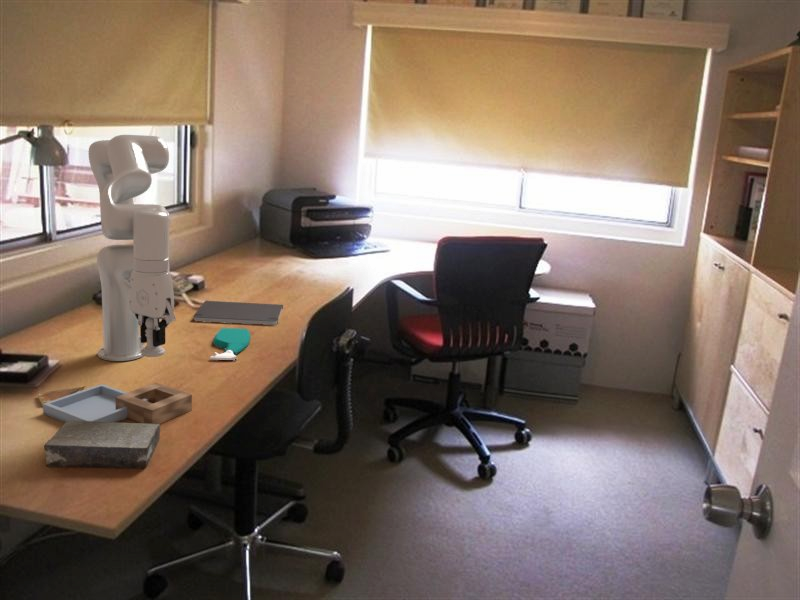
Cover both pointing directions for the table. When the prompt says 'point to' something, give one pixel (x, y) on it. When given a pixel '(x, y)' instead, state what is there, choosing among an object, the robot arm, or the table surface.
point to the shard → (57, 394)
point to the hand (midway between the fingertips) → (153, 342)
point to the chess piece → (151, 341)
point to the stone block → (102, 445)
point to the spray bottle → (230, 343)
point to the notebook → (238, 312)
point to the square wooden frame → (155, 403)
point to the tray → (88, 406)
